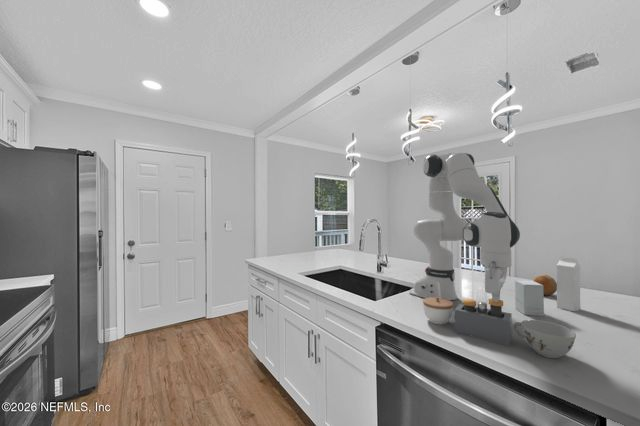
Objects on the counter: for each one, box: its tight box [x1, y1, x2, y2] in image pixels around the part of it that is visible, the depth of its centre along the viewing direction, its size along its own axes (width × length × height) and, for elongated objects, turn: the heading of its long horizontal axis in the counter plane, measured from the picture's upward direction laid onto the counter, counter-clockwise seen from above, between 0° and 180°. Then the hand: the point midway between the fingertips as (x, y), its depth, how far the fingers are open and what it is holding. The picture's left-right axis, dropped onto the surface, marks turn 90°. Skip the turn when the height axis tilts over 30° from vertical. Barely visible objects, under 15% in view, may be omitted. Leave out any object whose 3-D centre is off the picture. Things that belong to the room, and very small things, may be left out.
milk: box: [556, 256, 581, 312], centre depth 117 cm, size 6×6×22 cm
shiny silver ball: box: [477, 301, 488, 313], centre depth 93 cm, size 3×3×3 cm
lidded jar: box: [422, 297, 454, 326], centre depth 105 cm, size 11×11×9 cm
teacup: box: [513, 319, 577, 359], centre depth 82 cm, size 15×12×8 cm
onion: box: [532, 274, 557, 296], centre depth 136 cm, size 10×10×10 cm
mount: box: [454, 303, 513, 347], centre depth 94 cm, size 16×8×8 cm, turn 50°
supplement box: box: [514, 280, 545, 317], centre depth 113 cm, size 7×7×13 cm
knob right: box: [488, 298, 504, 318], centre depth 91 cm, size 4×4×9 cm
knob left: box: [462, 298, 477, 312], centre depth 96 cm, size 4×4×9 cm
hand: (496, 300), depth 91 cm, fingers closed
